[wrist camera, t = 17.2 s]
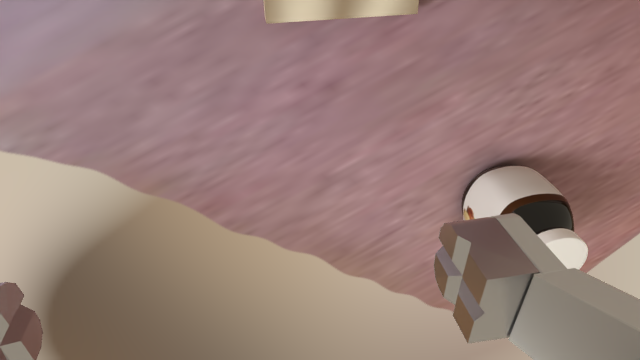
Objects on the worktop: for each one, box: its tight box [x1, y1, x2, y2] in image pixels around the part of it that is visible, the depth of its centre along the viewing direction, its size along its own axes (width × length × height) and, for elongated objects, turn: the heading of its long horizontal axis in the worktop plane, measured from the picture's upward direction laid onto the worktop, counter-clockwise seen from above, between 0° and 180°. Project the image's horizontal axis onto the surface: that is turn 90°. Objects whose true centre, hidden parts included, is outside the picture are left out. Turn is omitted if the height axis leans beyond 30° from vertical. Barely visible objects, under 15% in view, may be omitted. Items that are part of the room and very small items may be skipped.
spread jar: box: [462, 165, 588, 270], centre depth 45 cm, size 12×11×12 cm
